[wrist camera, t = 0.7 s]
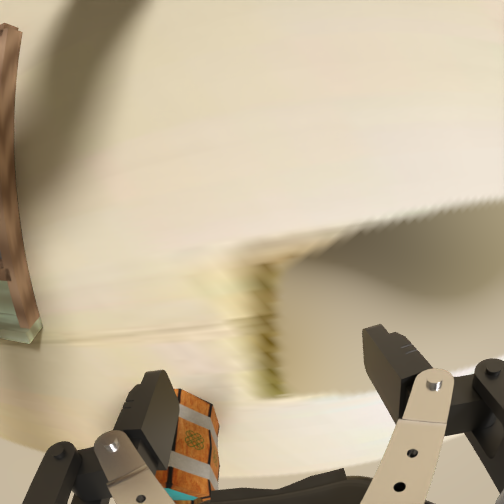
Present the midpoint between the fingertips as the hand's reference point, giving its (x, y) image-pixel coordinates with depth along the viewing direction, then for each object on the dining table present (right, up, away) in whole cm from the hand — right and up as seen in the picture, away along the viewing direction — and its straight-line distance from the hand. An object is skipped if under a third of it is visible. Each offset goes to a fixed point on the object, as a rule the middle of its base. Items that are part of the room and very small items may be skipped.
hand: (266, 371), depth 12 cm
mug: (-13, -22, +31) cm, 40 cm away
